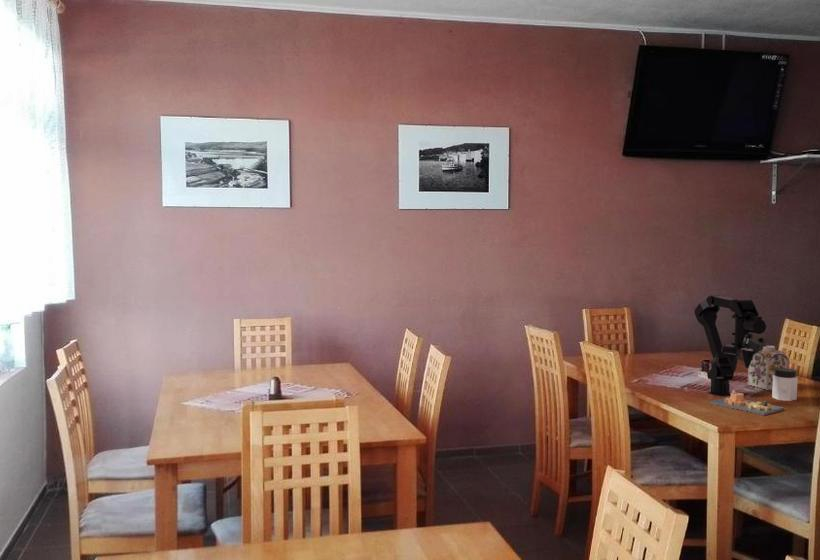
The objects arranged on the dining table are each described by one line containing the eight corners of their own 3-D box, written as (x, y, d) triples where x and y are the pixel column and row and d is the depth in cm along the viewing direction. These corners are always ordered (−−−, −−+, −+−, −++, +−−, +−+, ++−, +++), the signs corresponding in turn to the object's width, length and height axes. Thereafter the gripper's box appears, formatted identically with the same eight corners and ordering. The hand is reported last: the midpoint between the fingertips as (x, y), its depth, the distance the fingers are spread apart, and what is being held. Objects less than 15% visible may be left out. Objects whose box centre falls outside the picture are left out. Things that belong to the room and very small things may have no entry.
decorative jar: (788, 389, 320) (790, 347, 319) (767, 390, 317) (768, 349, 316) (767, 383, 332) (769, 343, 330) (746, 385, 328) (748, 344, 327)
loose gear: (720, 402, 291) (720, 393, 291) (732, 399, 296) (733, 390, 296) (741, 406, 284) (741, 397, 284) (753, 403, 289) (754, 394, 289)
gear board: (710, 403, 293) (710, 392, 293) (730, 399, 301) (730, 388, 301) (763, 415, 275) (764, 403, 275) (783, 410, 283) (784, 398, 283)
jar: (771, 399, 301) (772, 370, 300) (772, 395, 308) (773, 367, 307) (796, 402, 296) (797, 372, 296) (796, 398, 304) (798, 369, 303)
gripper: (748, 334, 284) (746, 375, 285) (774, 331, 294) (772, 369, 295) (721, 331, 293) (720, 370, 294) (748, 327, 303) (746, 365, 305)
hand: (740, 369), depth 297 cm, fingers open, 9 cm apart
